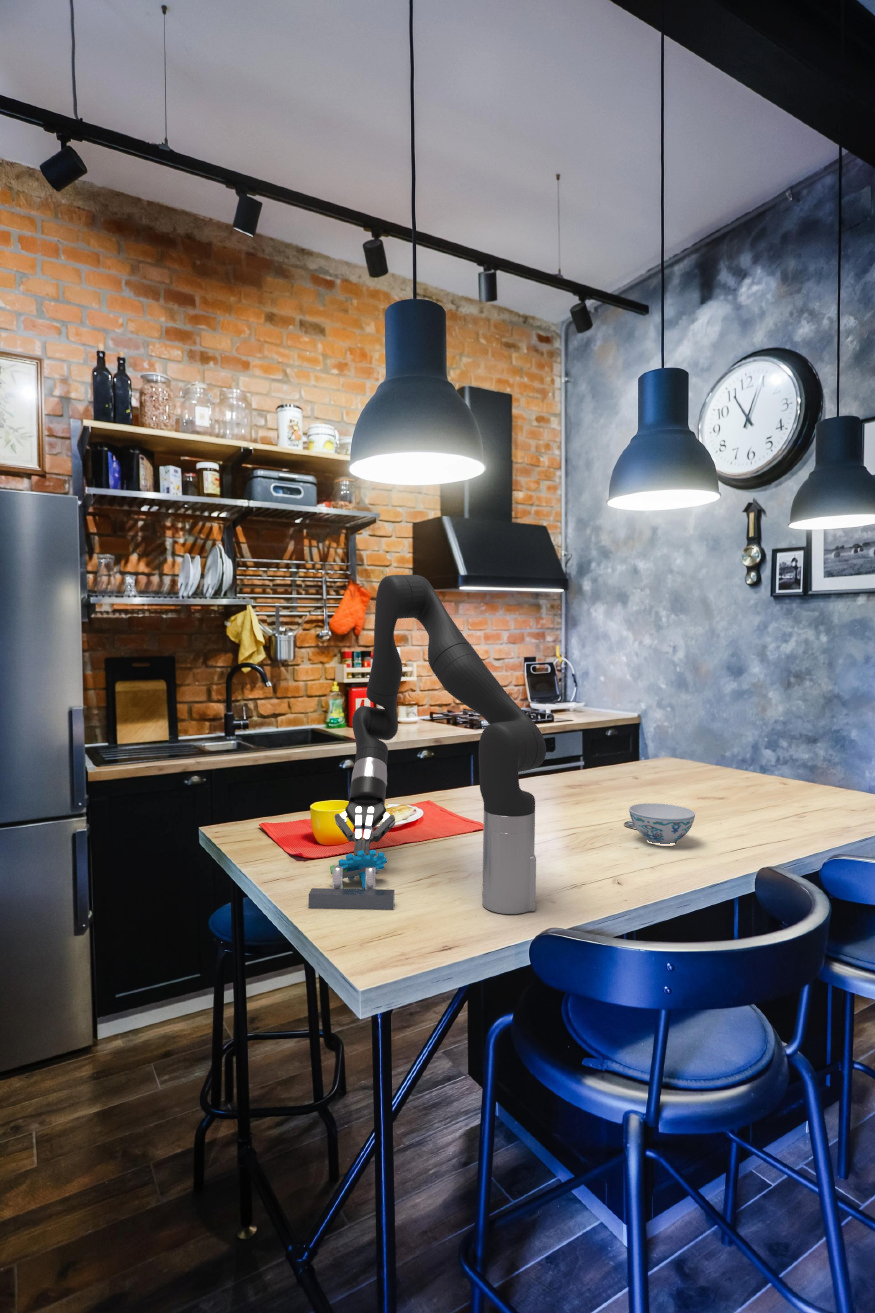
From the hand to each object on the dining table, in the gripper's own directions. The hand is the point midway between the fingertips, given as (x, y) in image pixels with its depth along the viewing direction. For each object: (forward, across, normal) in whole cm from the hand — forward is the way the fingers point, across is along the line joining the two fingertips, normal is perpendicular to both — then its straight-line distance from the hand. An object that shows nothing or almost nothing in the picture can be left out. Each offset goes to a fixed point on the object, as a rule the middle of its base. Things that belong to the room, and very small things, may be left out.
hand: (360, 859), depth 141 cm
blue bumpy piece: (+4, 0, +2) cm, 5 cm away
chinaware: (-19, +68, +25) cm, 75 cm away
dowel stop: (+11, 0, -5) cm, 12 cm away
